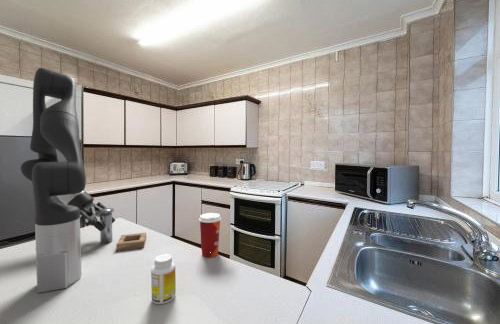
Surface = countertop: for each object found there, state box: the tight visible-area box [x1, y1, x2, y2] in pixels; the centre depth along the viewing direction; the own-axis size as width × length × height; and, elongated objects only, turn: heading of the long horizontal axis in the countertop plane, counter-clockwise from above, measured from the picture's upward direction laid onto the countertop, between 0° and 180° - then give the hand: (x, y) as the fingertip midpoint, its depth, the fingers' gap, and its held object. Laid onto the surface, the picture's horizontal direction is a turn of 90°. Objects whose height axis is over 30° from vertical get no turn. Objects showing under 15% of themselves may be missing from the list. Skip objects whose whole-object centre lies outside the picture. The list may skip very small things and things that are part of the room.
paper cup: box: [198, 212, 222, 259], centre depth 76 cm, size 8×8×14 cm
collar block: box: [115, 232, 147, 252], centre depth 84 cm, size 9×9×2 cm
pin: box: [98, 207, 115, 245], centre depth 85 cm, size 5×5×13 cm
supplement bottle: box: [150, 253, 177, 305], centre depth 53 cm, size 6×6×10 cm
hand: (108, 225), depth 86 cm, fingers open, 8 cm apart
